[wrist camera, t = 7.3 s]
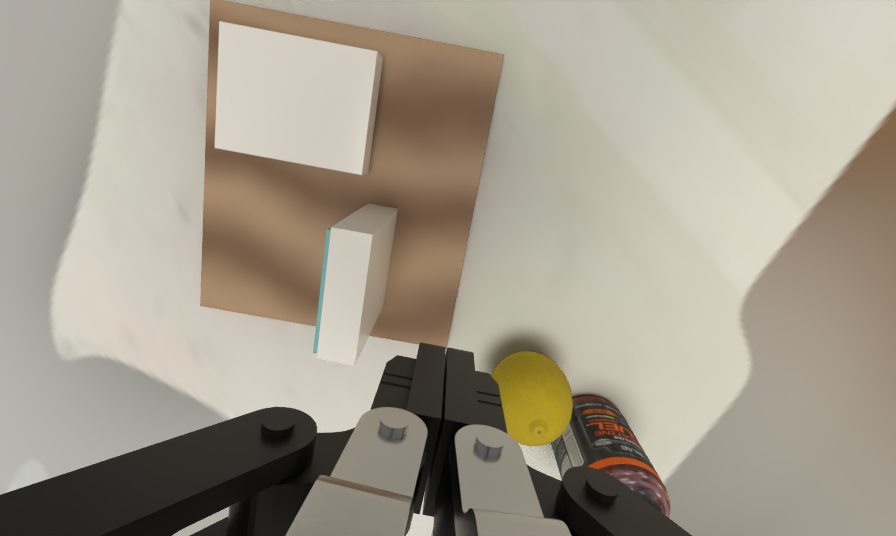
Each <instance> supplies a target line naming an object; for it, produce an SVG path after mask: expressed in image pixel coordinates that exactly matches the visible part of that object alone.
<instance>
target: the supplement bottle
mask: <svg viewBox="0 0 896 536" xmlns="http://www.w3.org/2000/svg"><path fill="white" fill-rule="evenodd" d="M572 402H573V408H572V414H571V419H570V422H569V424H568V426H567V428H566V430H565V431H564V432H563V433H562V435H561V436H560V437H559V438H557V439H556V440H554V441H553V442H551V445H552V448H553V451H554V455H555V458H556V461H557V465H558V468H559V471H560V475H561V479H562V478H563V475H564V473H565V472H566V471H567V470H568V469H569V468H572V467H575V466H586V467H592V468H596V469H599V470H601V471H604V472H606V473H608V474H610V475H612V476H613V477H615V478H616V479H618V480H619V481H621V482H622V483H623V484H625V485H626V486H627V487H629V488H630V489H631V490H633V491H634V492H635V493H636V494H638V495H639V496H640V497H642V498H643V499H644V500H646V501H647V502H648V503H650V504H651V505H652V506H654V507H655V508H656V509H657V510H659V511H660V512H661V513H663V514H664V515H665V516H667V517H668V518H669V515H670V501H669V496H668V493H667V490H666V488H665V486H664V485H663V483H662V481H661V479H660V477H659V476H658V474H657V472H656V471H655V469H654V467H653V465H652V464H651V462H650V461H649V459H648V457H647V456H646V454H645V452H644V450H643V449H642V447H641V446H640V444H639V442H638V440H637V439H636V437H635V435H634V434H633V431H632V430H631V428H630V427H629V425H628V423H627V421H626V420H625V418H624V416H623V415H622V414H621V412H620V411H619V410H618V408H617V407H616V406H615V405H613V404H612V403H610V402H609V401H607V400H605V399H603V398H600V397H596V396H581V397H576V398H574V399H572Z"/></svg>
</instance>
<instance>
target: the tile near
mask: <svg viewBox="0 0 896 536" xmlns="http://www.w3.org/2000/svg"><path fill="white" fill-rule="evenodd" d="M397 211H398V209H396V208H391V207H385V206H380V205H374V204H369V203H368V204H367V205H365V206H363V207H362V208H360V209H358V210H357V211H355V212H354V213H352V214H350V215H349V216H347V217H346V218H344V219H343V220H341V221H339V222H338V223H336V224H335V225H333V226H331V227H330V228H328V229H327V231H326V240H325V250H324V259H323V268H322V277H321V286H320V296H319V305H318V314H317V323H316V333H315V342H314V351H313V353H317V359H320V360H326V361H332V362H338V363H343V364H349V365H355V364H356V362H357V360H358V358H359V356H360V353H361V351H362V349H363V347H364V345H365V343H366V341H367V339H368V337H369V335H370V332H371V330H372V328H373V326H374V324H375V322H376V320H377V318H378V316H379V314H380V311H381V309H382V307H383V305H384V298H385V291H386V285H387V278H388V271H389V265H390V258H391V251H392V245H393V238H394V231H395V225H396V218H397Z"/></svg>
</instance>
